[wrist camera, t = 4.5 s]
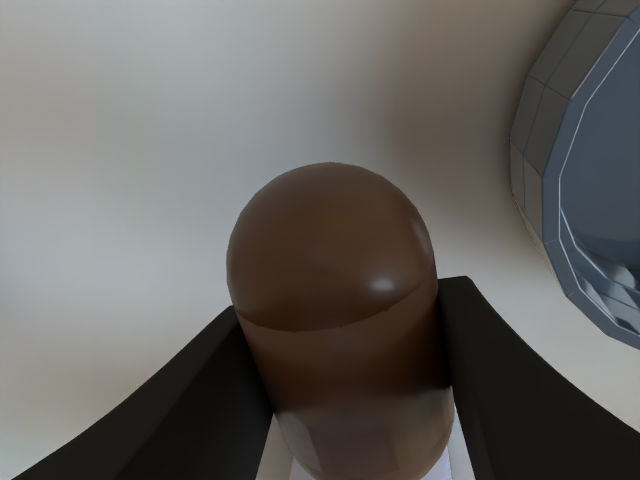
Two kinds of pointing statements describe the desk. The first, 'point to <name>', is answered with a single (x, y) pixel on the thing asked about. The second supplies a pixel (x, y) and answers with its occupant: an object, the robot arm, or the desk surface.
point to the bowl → (586, 161)
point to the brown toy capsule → (344, 322)
